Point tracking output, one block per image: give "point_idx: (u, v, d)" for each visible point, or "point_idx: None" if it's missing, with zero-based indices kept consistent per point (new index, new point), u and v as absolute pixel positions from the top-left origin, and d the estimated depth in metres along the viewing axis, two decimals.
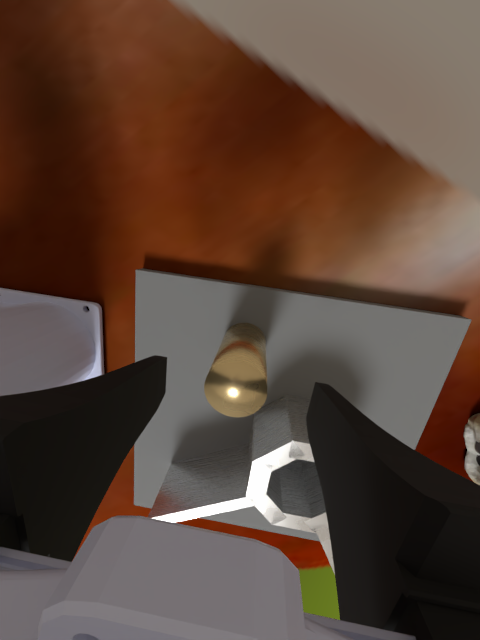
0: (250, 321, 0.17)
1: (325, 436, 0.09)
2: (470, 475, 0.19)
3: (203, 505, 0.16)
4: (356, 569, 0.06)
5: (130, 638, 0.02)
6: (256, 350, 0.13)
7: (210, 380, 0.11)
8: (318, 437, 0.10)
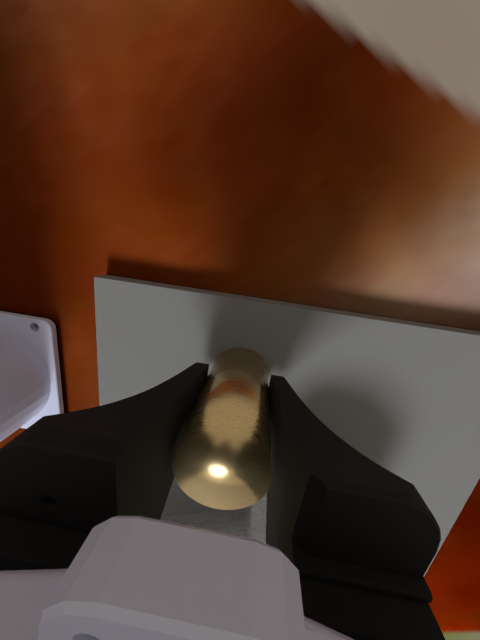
0: (247, 345, 0.12)
1: (271, 427, 0.09)
2: None
3: None
4: None
5: (130, 638, 0.02)
6: (255, 398, 0.09)
7: (181, 457, 0.07)
8: None
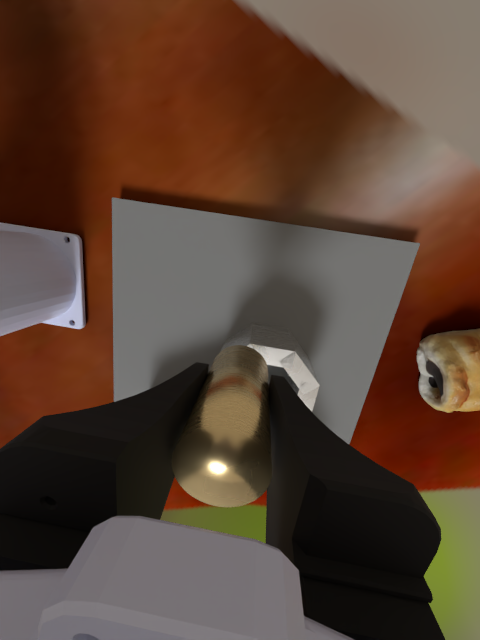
0: (218, 248, 0.18)
1: (272, 426, 0.09)
2: (423, 396, 0.20)
3: None
4: None
5: (130, 638, 0.02)
6: (254, 394, 0.09)
7: (180, 454, 0.07)
8: None
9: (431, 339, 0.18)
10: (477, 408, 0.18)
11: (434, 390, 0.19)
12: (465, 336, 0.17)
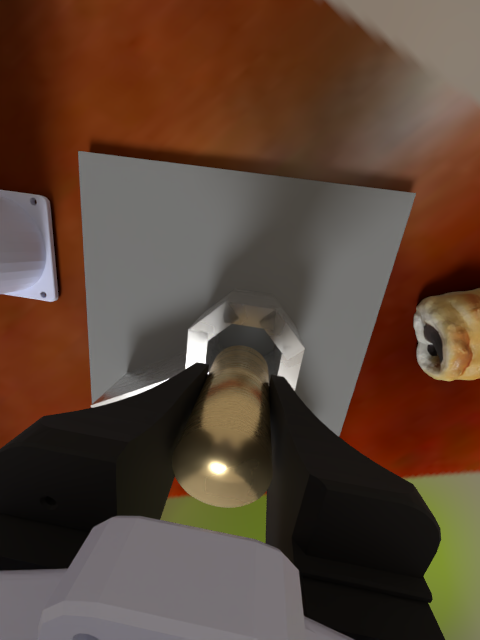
0: (195, 205, 0.16)
1: (271, 426, 0.09)
2: (422, 366, 0.18)
3: (144, 387, 0.16)
4: None
5: (130, 638, 0.02)
6: (254, 395, 0.09)
7: (181, 455, 0.07)
8: None
9: (428, 300, 0.17)
10: None
11: (434, 358, 0.18)
12: (465, 294, 0.16)
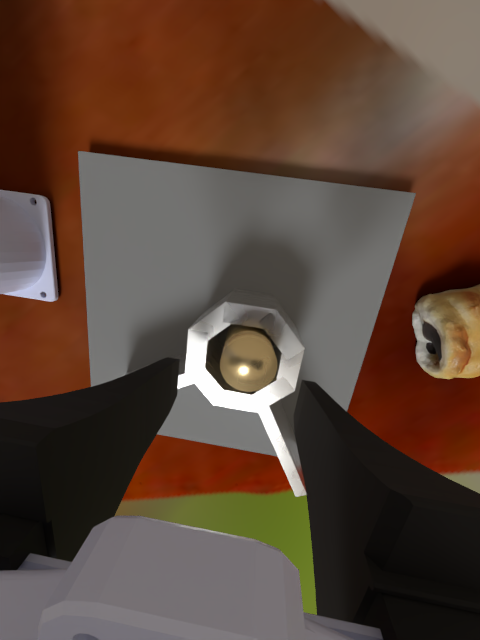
0: (195, 205, 0.16)
1: (309, 433, 0.09)
2: (421, 364, 0.18)
3: None
4: (331, 564, 0.06)
5: (130, 638, 0.02)
6: (263, 332, 0.14)
7: (225, 357, 0.13)
8: (303, 434, 0.10)
9: (427, 298, 0.17)
10: None
11: (433, 357, 0.18)
12: (463, 291, 0.16)
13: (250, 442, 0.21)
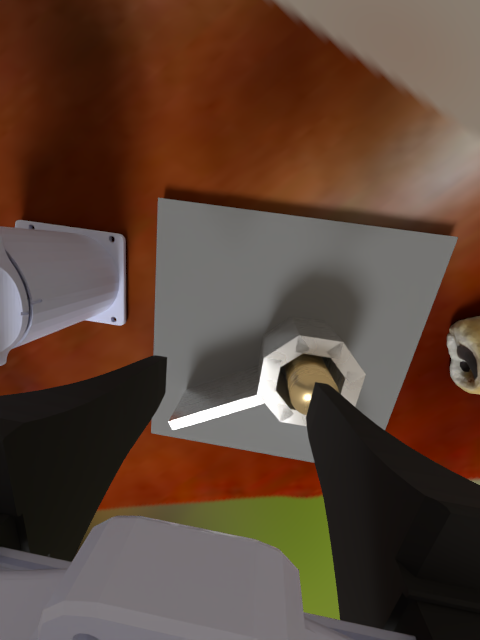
0: (260, 245, 0.19)
1: (325, 436, 0.09)
2: (455, 381, 0.20)
3: (219, 406, 0.18)
4: (356, 569, 0.06)
5: (130, 637, 0.02)
6: (322, 363, 0.17)
7: (295, 389, 0.15)
8: (318, 437, 0.10)
9: (462, 323, 0.19)
10: None
11: (466, 374, 0.20)
12: None
13: (296, 451, 0.24)
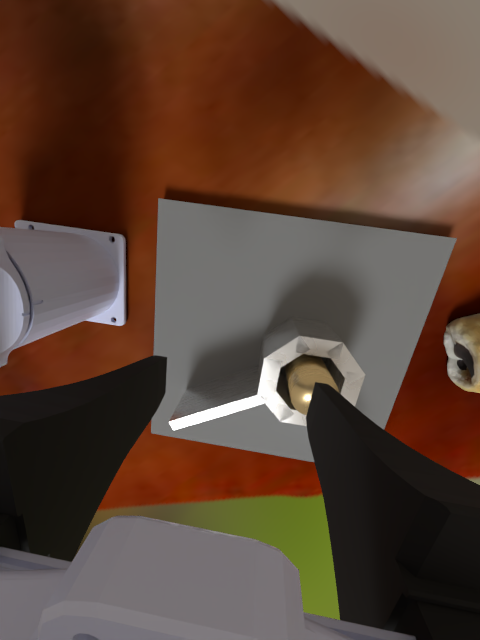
0: (260, 245, 0.19)
1: (325, 436, 0.09)
2: (453, 379, 0.20)
3: (219, 406, 0.18)
4: (356, 570, 0.06)
5: (130, 638, 0.02)
6: (323, 364, 0.17)
7: (296, 389, 0.15)
8: (318, 437, 0.10)
9: (459, 322, 0.19)
10: None
11: (463, 372, 0.20)
12: None
13: (296, 451, 0.24)
